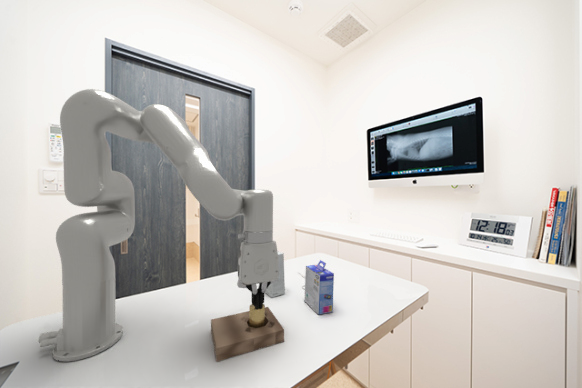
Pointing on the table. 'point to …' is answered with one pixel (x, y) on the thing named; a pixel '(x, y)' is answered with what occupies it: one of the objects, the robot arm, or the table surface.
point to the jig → (243, 334)
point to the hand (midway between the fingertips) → (257, 306)
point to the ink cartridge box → (319, 288)
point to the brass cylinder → (256, 317)
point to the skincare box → (279, 285)
